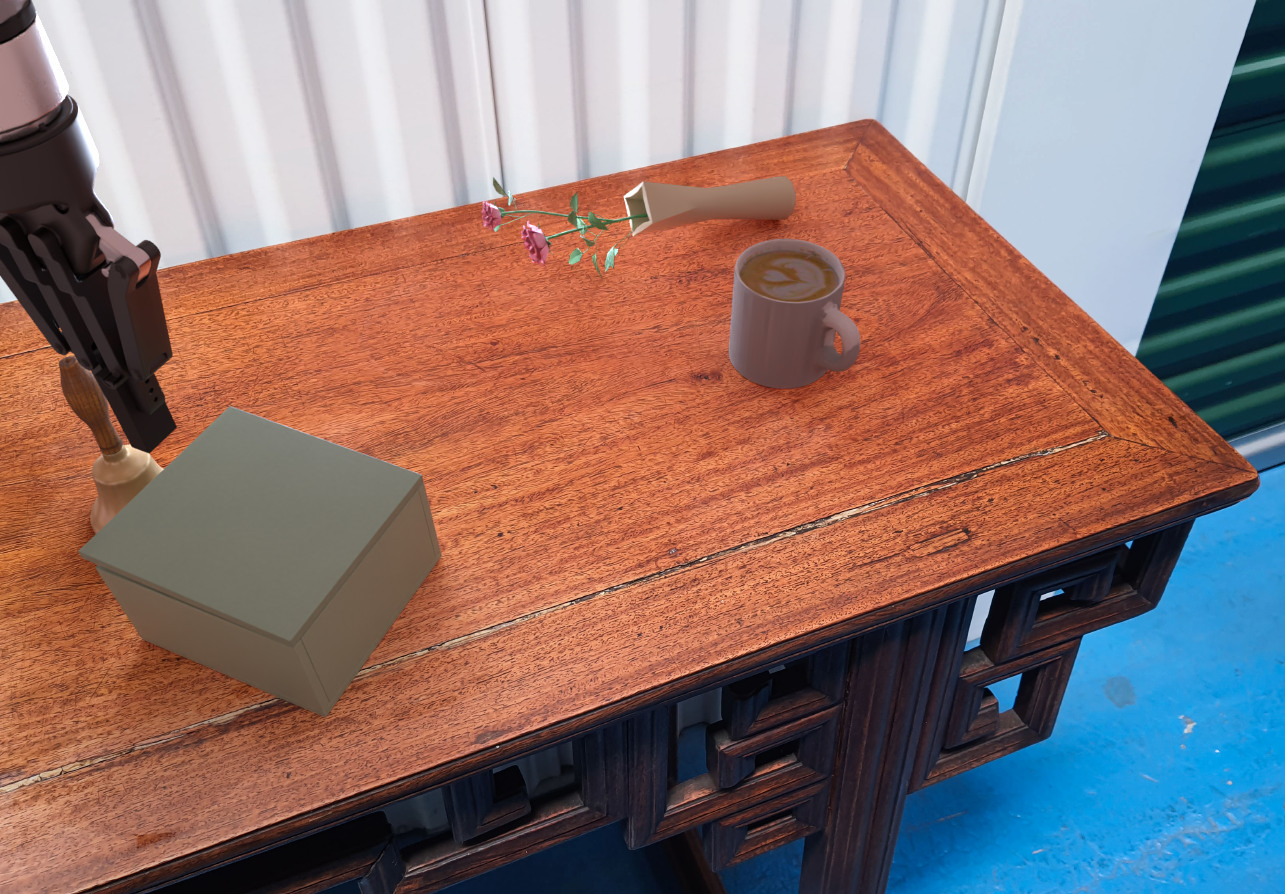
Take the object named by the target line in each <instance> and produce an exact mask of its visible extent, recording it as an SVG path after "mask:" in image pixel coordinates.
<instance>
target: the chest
mask: <svg viewBox="0 0 1285 894" xmlns="http://www.w3.org/2000/svg"><path fill="white" fill-rule="evenodd" d="M441 558H442V551H441V547H440V543H439V538H438V535H437V530H436V527H435V522H434V517H433V513H432V509H431V505H430V502H429V497H428V494H427V489H426V486H425V482H423V483H422V484H421V486H420V487H419V488H418V489H417V491H416V492H415V493H414V495H413V496H412V497H411V498H410V500H409V501H408V502H407V503H406V505H405V506H404V507H403V509H402V510H401V511H400V512H399V514H398V515H397V516H396V517H395V519H394V520H393V521H392V523H391V524H390V525H389V526H388V528H387V529H386V530H385V531H384V533H383V534H382V535H381V537H380V538H379V539H378V540H377V542H376V543H375V544H374V545H373V547H372V548H371V549H370V551H369V552H368V553H367V554H366V556H365V557H364V558H363V559H362V561H361V562H360V563H359V565H358V566H357V567H356V568H355V570H354V571H353V572H352V573H351V575H350V576H349V577H348V579H347V580H346V581H345V582H344V584H343V585H342V586H341V587H340V589H339V590H338V591H337V593H336V594H335V595H334V596H333V598H332V599H331V600H330V601H329V603H328V604H327V605H326V607H325V608H324V609H323V610H322V612H321V613H320V614H319V615H318V617H317V618H316V619H315V621H314V622H313V623H312V624H311V626H310V627H309V628H308V629H307V631H306V632H305V633H304V635H303V636H302V637H301V638H300V640H299V641H298V642H297V643H296V645H295V646H294V647H293V648H292V647H290V646H287V645H285V644H283V643H280V642H278V641H276V640H273V639H271V638H268V637H266V636H264V635H261V634H259V633H257V632H254V631H252V630H250V629H247V628H245V627H243V626H240V625H238V624H236V623H233V622H231V621H229V620H226V619H224V618H221V617H219V616H217V615H214V614H212V613H210V612H207V611H205V610H203V609H200V608H198V607H196V606H193V605H191V604H189V603H186V602H184V601H182V600H179V599H177V598H175V597H172V596H170V595H167V594H165V593H163V592H160V591H158V590H156V589H153V588H151V587H149V586H146V585H144V584H142V583H139V582H137V581H135V580H132V579H130V578H128V577H125V576H123V575H120V574H118V573H116V572H113V571H111V570H109V569H106V568H104V567H102V566H99V565H96V566H95V570H96V572H97V573H98V574H99V576H100V578H101V579H102V581H103V582H104V584H105V585H106V587H107V588H108V589H109V591H110V592H111V594H112V596H113V597H114V599H115V600H116V602H117V604H118V605H119V607H120V608H121V609H122V611H123V612H124V614H125V616H126V617H127V618H128V620H129V622H130V624H131V625H132V626H133V628H134V629H135V631H136V632H137V634H138V635H139V636H140V638H141V640H142V641H145V642H148V643H150V644H152V645H155V646H157V647H160V648H161V649H164V650H166V651H168V652H171V653H173V654H176V655H178V656H180V657H183V658H185V659H187V660H189V661H192V662H194V663H197V664H198V665H201V666H204V667H206V668H208V669H211V670H213V671H215V672H217V673H219V674H223V675H225V676H227V677H229V678H232V679H233V680H237V681H239V682H241V683H244V684H245V685H248V686H251V687H253V688H255V689H258V690H259V691H262V692H265V693H266V694H269V695H271V696H274V697H276V698H278V699H281V700H283V701H285V702H288V703H291V704H293V705H295V706H297V707H300V708H302V709H305V710H306V711H309V712H311V713H313V714H316V715H318V716H321V717H322V718H327V717H328V715H329V714H330V712H331V711H332V710H333V709H334V707H335V706H336V704H337V703H338V701H339V700H340V699H341V697H342V696H343V695H344V693H345V691H347V689H348V687H349V686H350V685H351V683H352V682H353V680H354V679H355V678H356V676H357V675H358V674H359V672H360V671H361V669H362V668H363V666H364V665H365V664H366V662H367V661H368V659H369V658H370V657H371V656H372V654H373V653H374V651H375V650H376V648H378V646H379V645H380V643H381V642H382V640H383V639H384V637H385V636H386V634H387V633H388V632H389V630H390V629H391V627H392V626H393V625H394V623H396V621H397V619H398V618H399V617H400V615H401V613H402V612H403V611H404V610H405V608H406V607H407V605H408V604H409V602H410V601H411V600H412V598H413V597H414V596H415V594H416V593H417V591H418V590H419V589H420V587H421V586H422V584H423V583H424V582H425V580H426V579H427V577H428V576H429V575H430V573H431V572H432V571H433V569H434V567H436V565H437V563H438V562H439V561H440V560H441Z"/></svg>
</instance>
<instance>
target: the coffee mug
mask: <svg viewBox="0 0 1285 894" xmlns="http://www.w3.org/2000/svg"><path fill="white" fill-rule="evenodd" d="M733 271H734V272H733V274H734V275H733V285H732V300H731V312H730V313H731V314H730V325H729V327H730V328H729V341H728V358H729V361H730V363H731V366H732V367H733V368H734V370H735V371H736V372H737V373H738V374H740V375H741V376H742V377H743V378H745V379H747V380H748V381H750V382H752V383H754V384H757V385H760V386H763V387H767V388H772V389H780V390H781V389H782V390H783V389H797V388H802V387H806V386H808V385H811V384H813V383H815V382H816V381H818V380H820V379H821V378H822V377H824V376H825V374H826V373H827V372H828V371H830V372H834V373H842V372H845V371H847V370H848V369H850V368H851V367H853V366H854V364H855V363H856V361H857V360H858V357H859V355H860V351H861V350H860V349H861V334H860V330H859V329H858V326H857V325H856V323H855V322H854V321H853V320H852V319H851V318H850V317H849V316H848V315H846V314H845V313H843V312H842V311H841V306H842V300H843V295H844V288H845V281H846V269H845V266H844V265H843V263H842V261H841V259H840V258H839V257H838V256H837V255H836V254H835V253H833V252H832V251H831V250H829V249H827V248H826V247H824V246H821V245H819V244H817V243H815V242H812V241H811V242H810V241H808V240H802V239H797V238H796V239H795V238H773V239H768V240H764V241H763V240H762V241H761V242H758V243H755V244H753V245H751V246H749V247H747V248H746V249H745V250H744V251H742V252H741V253H740V255H739V256H738V257H737V259H736V261H735V265H734V270H733ZM837 334H838V336H839V338H840V340H841V353H839V352H838V351H837V348H836V347H835V340H836V335H837Z"/></svg>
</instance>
